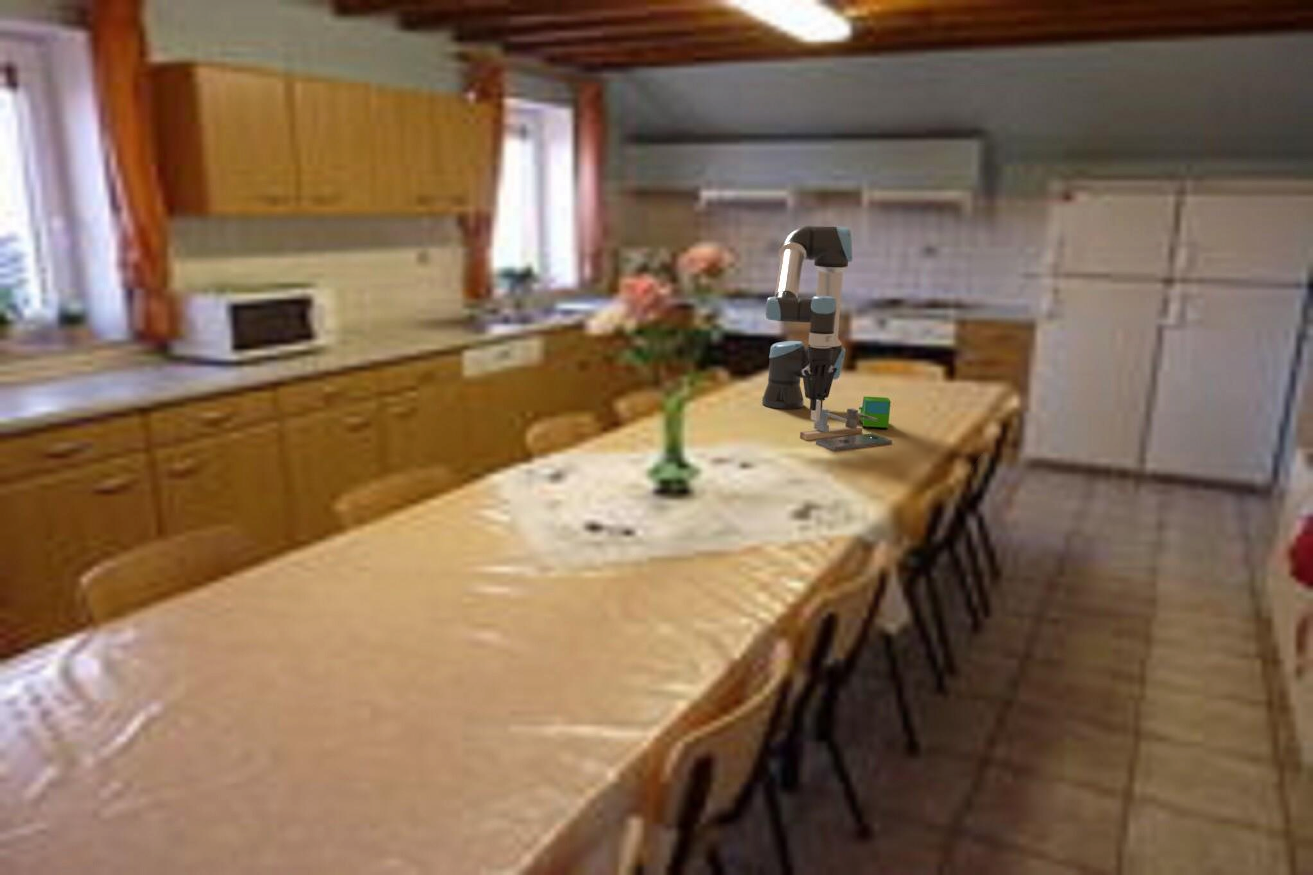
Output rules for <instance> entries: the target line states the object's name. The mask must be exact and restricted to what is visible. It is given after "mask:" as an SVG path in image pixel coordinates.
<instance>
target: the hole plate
mask: <svg viewBox="0 0 1313 875" xmlns="http://www.w3.org/2000/svg"><path fill="white" fill-rule="evenodd" d="M815 444H816V445H817V446H820V447H823V448H825V449H828V450H830V451H834V452H838V451H844V450H853V449H860V448H859V447H862V448H867V447H875V446H874V445H877V446H883V445H884V444H885V445H890V444H891V445H892V444H893V439H890V438H887V437H885V436H882V435H878V434H875V433H874V432H873V433H865V434H864V433H862V434H854V435H846V436H838V437H829V438H821V439H815Z"/></svg>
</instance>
